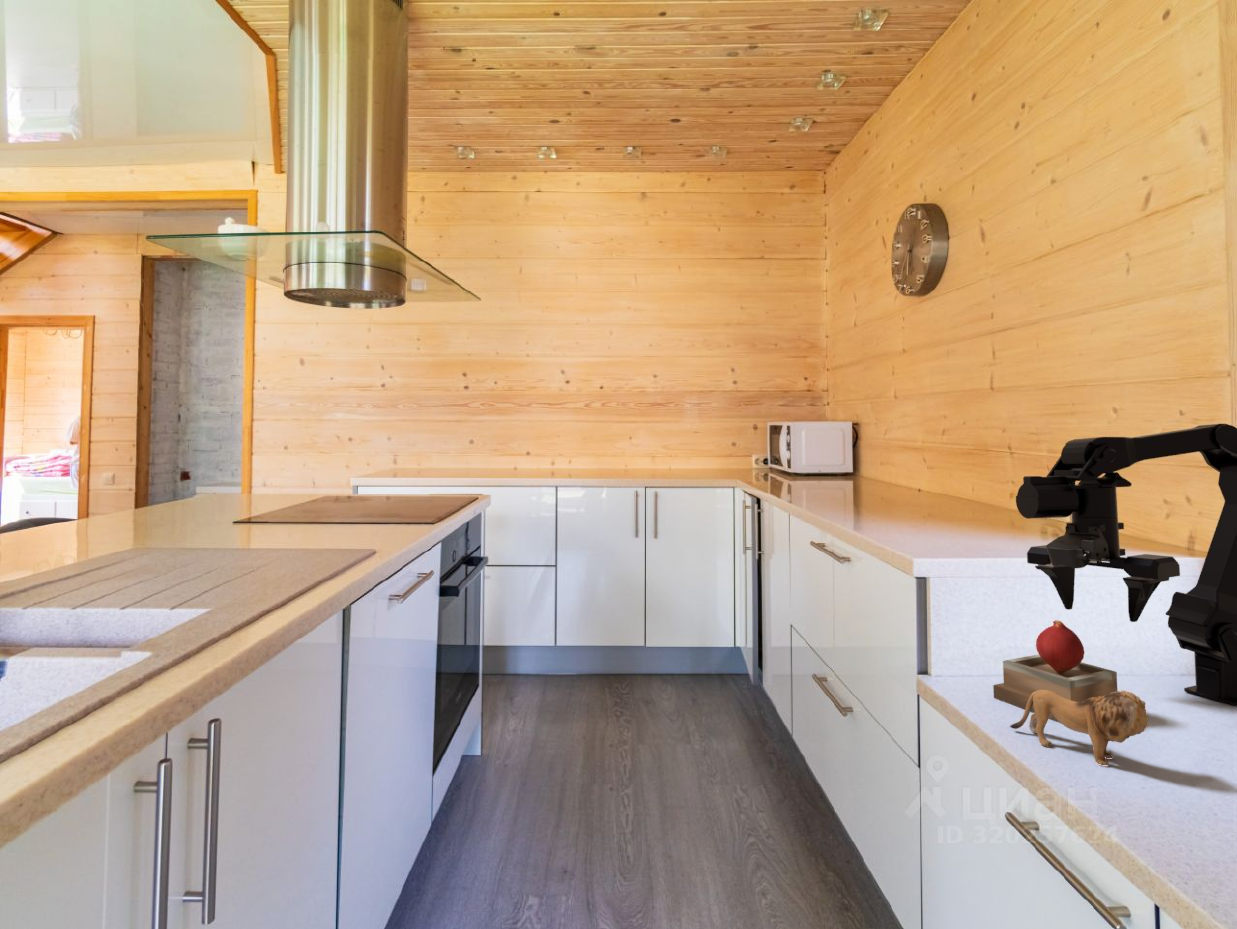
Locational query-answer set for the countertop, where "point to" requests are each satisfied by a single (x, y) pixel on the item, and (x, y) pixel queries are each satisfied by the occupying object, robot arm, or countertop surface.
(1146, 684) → the countertop surface
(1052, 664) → the onion
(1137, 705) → the lion figurine
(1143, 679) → the countertop surface
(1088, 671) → the wooden tray on base
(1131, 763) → the countertop surface
